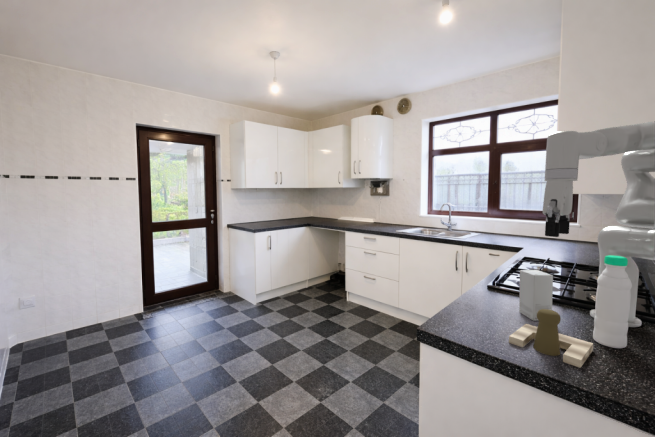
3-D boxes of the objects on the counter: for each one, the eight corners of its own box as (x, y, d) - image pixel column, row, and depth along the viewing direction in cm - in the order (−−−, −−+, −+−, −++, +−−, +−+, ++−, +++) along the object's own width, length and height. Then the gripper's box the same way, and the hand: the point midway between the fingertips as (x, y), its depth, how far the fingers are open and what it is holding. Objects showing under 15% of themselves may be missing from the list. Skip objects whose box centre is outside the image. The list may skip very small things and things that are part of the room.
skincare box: (552, 321, 100) (555, 275, 99) (531, 321, 101) (534, 275, 99) (535, 311, 109) (538, 269, 107) (517, 311, 109) (519, 269, 108)
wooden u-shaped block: (525, 329, 94) (525, 323, 94) (592, 350, 82) (593, 343, 82) (508, 342, 86) (509, 336, 86) (580, 367, 74) (581, 360, 74)
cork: (565, 356, 79) (568, 316, 78) (539, 354, 80) (541, 314, 79) (552, 345, 85) (555, 307, 84) (529, 343, 86) (531, 305, 85)
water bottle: (630, 352, 81) (638, 260, 79) (595, 345, 85) (602, 257, 83) (622, 341, 87) (629, 255, 85) (590, 335, 91) (596, 252, 89)
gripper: (554, 177, 95) (551, 231, 97) (535, 175, 84) (531, 236, 86) (585, 176, 89) (581, 233, 91) (568, 174, 79) (564, 239, 80)
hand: (557, 234), depth 88 cm, fingers open, 9 cm apart
